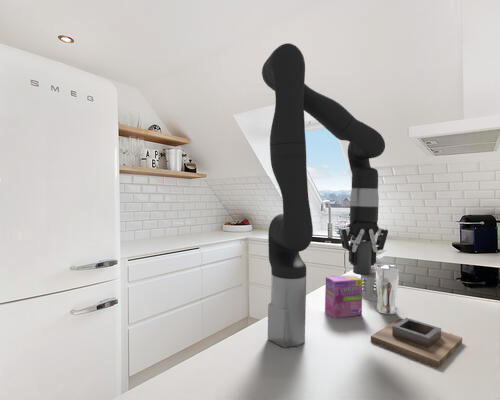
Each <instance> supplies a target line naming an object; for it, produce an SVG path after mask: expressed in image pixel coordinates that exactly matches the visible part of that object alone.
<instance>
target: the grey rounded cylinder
mask: <svg viewBox="0 0 500 400" xmlns="http://www.w3.org/2000/svg"><path fill="white" fill-rule="evenodd" d="M371 259H372V242H370V241H366V240H364V241H360V244H359V245H358V247H357V249H356V265H352V273H353V274H355V275H360V276H361V275H371V269H372V265H371Z"/></svg>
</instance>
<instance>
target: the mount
mask: <svg viewBox="0 0 500 400" xmlns="http://www.w3.org/2000/svg"><path fill="white" fill-rule="evenodd" d="M370 342H371V343H374V344H376V345H379V346H382V347H384V348H387V349H390V350H392V351H394V352H397V353H399V354H402V355H404V356H407V357H409V358H412V359H415V360H417V361H419V362H422V363H425V364H427V365H430V366H433V367H435V368H437V369H439V368H440V367H442V366H443V364H445V362H446V361H447V360H448V359H449V358H450V357H451V356H452V355H453V354H454V352H455V351H456V350H457V349H458V348H460V346H461V345H462V344H463V337H462V336H458V335H455V334H452V333H448V332H446V331H443V330H442V327H439V326H436V325H433V324H432V325H431V324H428V323H425V322H421V321H419V320H415V319H412V318H408V317H405V318H401V317H400V318H398V319H396V320H395V321H393V322H391V323H389V324H388V325H386V326H384V327H383V328H381V329H379V330H378V331H376V332H375V333H373V334H372V335H371V334H370Z"/></svg>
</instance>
